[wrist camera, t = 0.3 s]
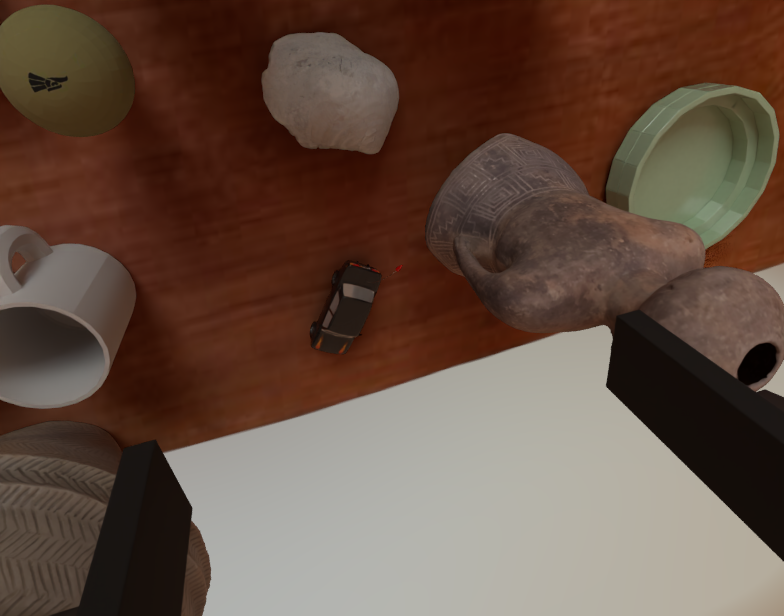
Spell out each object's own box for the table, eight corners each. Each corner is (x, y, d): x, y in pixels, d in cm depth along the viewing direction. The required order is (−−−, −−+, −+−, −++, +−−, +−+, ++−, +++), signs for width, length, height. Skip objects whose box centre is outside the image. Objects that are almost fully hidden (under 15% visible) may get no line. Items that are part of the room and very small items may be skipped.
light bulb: (97, 131, 30) (42, 170, 22) (24, 39, 27) (-72, 43, 19) (175, 88, 30) (149, 110, 22) (111, -9, 27) (52, -26, 19)
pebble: (290, 171, 35) (296, 190, 30) (245, 46, 30) (245, 49, 26) (402, 134, 35) (424, 149, 31) (374, 8, 31) (394, 5, 27)
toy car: (303, 335, 42) (313, 399, 35) (357, 210, 37) (379, 258, 30) (345, 345, 43) (361, 407, 37) (401, 226, 38) (432, 274, 32)
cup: (63, 344, 36) (16, 425, 29) (-34, 225, 31) (-122, 287, 24) (156, 310, 37) (134, 381, 30) (77, 188, 32) (26, 236, 24)
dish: (610, 99, 38) (640, 105, 35) (760, 69, 40) (801, 73, 38) (594, 258, 46) (618, 274, 43) (722, 225, 48) (754, 238, 45)
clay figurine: (412, 267, 41) (589, 516, 20) (390, 150, 36) (599, 320, 15) (551, 226, 43) (849, 416, 22) (550, 107, 37) (943, 207, 16)
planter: (270, 412, 45) (299, 670, 26) (141, 579, 50) (88, 894, 31) (-50, 283, 33) (-420, 597, 14) (-179, 522, 38) (-578, 987, 19)
